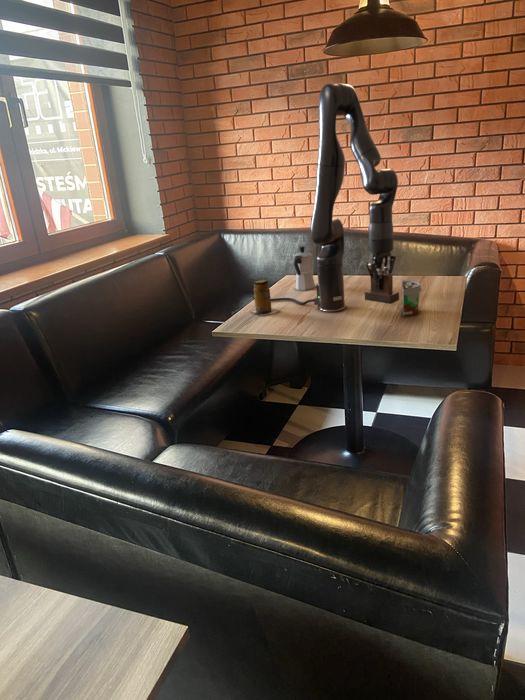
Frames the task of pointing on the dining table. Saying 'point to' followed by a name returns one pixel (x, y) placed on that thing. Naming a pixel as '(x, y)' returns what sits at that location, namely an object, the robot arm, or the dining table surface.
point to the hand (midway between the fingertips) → (381, 288)
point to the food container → (410, 297)
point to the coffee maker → (303, 270)
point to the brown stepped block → (383, 291)
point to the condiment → (262, 298)
